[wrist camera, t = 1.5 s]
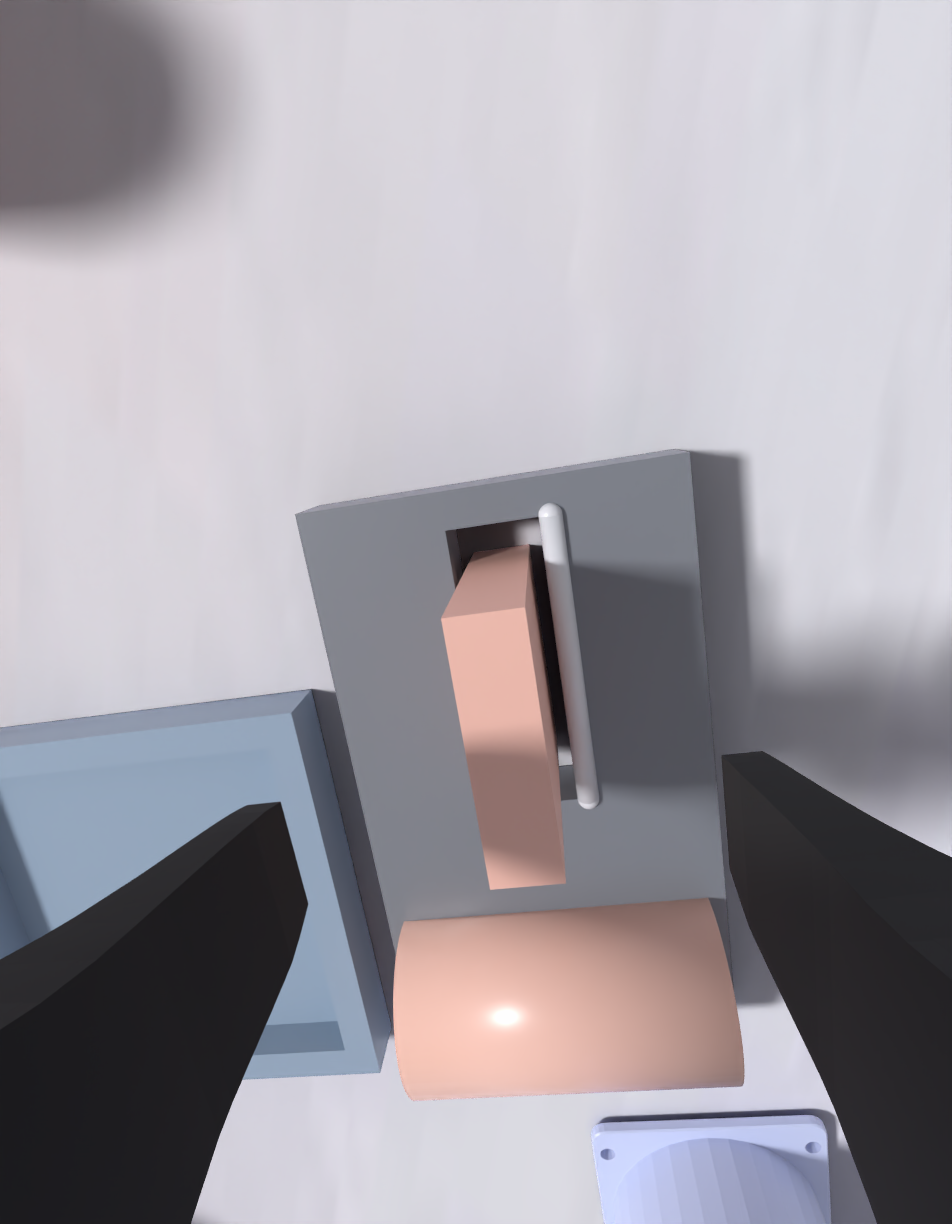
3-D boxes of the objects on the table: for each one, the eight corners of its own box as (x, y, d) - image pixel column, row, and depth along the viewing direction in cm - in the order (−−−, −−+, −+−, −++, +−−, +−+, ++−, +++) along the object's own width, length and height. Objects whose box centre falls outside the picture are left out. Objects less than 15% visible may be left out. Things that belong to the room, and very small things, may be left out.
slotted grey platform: (721, 995, 23) (770, 1147, 18) (429, 1012, 24) (402, 1159, 19) (673, 449, 18) (721, 457, 14) (318, 505, 20) (247, 531, 15)
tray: (391, 1026, 24) (380, 1072, 23) (61, 1046, 26) (27, 1090, 24) (311, 689, 21) (291, 712, 19) (-60, 735, 23) (-109, 760, 21)
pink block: (556, 735, 21) (565, 883, 14) (505, 741, 21) (490, 890, 14) (529, 544, 19) (524, 607, 13) (473, 552, 20) (441, 618, 13)
